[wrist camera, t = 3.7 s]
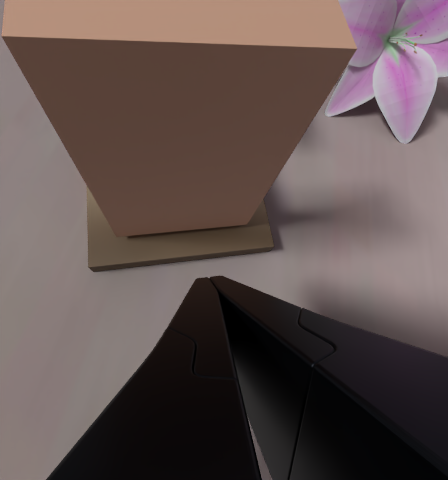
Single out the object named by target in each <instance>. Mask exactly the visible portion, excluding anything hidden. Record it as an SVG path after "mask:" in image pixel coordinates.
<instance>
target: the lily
mask: <svg viewBox="0 0 448 480" xmlns="http://www.w3.org/2000/svg"><path fill="white" fill-rule="evenodd" d="M338 1H339V4H340V6H341V9H342V11H343V14H344V16H345V19H346V21H347V24H348V26H349V29H350V31H351V34H352V36H353V39H354V41H355V44H356V46H357V50H356V52H355V53H354V55H353V57H352V58H351V60H350V61H349V63H348V64H349V66H348V67H347V69H346V71H345V72H344V74H343V76H342V78H341V79H340V81H339V83H338V85H337V87H336V89H335V91H334V93H333V95H332V97H331V99H330V101H329V103H328V105H327V108H326V110H325V115H326V116H329V117H330V116H334V115H337V114H340V113H343V112H345V111H348V110H350V109H352V108H355V107H357V106H359V105H361V104H363V103H365V102H367V101H368V100H370V99H372V98H373V97H375V98H376V101H377V103H378V105H379V108H380V110H381V112H382V113H383V115H384V117H385V119H386V121H387V123H388V125H389V126H390V128H391V130H392V132H393V133H394V135H395V137H396V138H397V139H398V140H399V142H400V143H406V144H407V143H408V142H410V141H411V140H412V138H413V137H414V135H415V134H416V132H417V131H418V129H419V127H420V125H421V123H422V121H423V119H424V117H425V115H426V113H427V111H428V108H429V106H430V104H431V101H432V99H433V96H434V93H435V91H436V85H437V79H438V77H446V76H448V0H338Z"/></svg>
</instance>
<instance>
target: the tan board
mask: <svg viewBox="0 0 448 480" xmlns="http://www.w3.org/2000/svg"><path fill="white" fill-rule="evenodd" d="M87 223H88V267H89V268H90V269H91V270H92V271H93V272H96V271H104V270H113V269H122V268H130V267H139V266H147V265H156V264H165V263H173V262H182V261H190V260H199V259H208V258H216V257H225V256H233V255H242V254H251V253H259V252H268V251H270V250H271V249H272V248H273V247H274V243H273V239H272V234H271V230H270V225H269V221H268V216H267V212H266V207H265V203H264V198H263V200H262V202H261V203H260V205H259V206H258V208H257V210H256V211H255V213H254V214H253V216H252V218H251V219H250V221H249V222H248V224H247V225H238V226H227V227H217V228H206V229H196V230H185V231H175V232H164V233H154V234H143V235H133V236H122V237H116V235H115V234H114V232H113V230H112V228H111V227H110V225H109V223H108V221H107V220H106V218H105V216H104V214H103V213H102V211H101V209H100V207H99V206H98V204H97V202H96V200H95V199H94V197H93V195H92V193H91V192H90V190H89V188H88V186H87Z"/></svg>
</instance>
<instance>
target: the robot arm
mask: <svg viewBox="0 0 448 480" xmlns="http://www.w3.org/2000/svg"><path fill="white" fill-rule="evenodd" d="M247 416H248V418H247ZM248 419H249V421H250V424H251V426H252V429H253V431H254V434H255V436H256V439H257V441H258V444H259V446H260V449H261V452H262V454H263V457H264V459H265V462H266V464H267V467H268V469H269V472H270V474H271V477H272V479H273V480H448V357H445V356H442V355H439V354H436V353H433V352H430V351H427V350H424V349H421V348H418V347H415V346H412V345H409V344H406V343H402V342H399V341H396V340H393V339H390V338H387V337H384V336H381V335H378V334H375V333H372V332H369V331H366V330H363V329H360V328H356V327H353V326H350V325H348V324H345V323H342V322H339V321H336V320H333V319H330V318H327V317H325V316H322V315H320V314H317V313H314V312H312V311H309V310H307V309H304V308H302V309H301V308H300V307H298V306H296V305H293V304H291V303H288V302H286V301H283V300H281V299H278V298H276V297H273V296H271V295H268V294H266V293H263V292H261V291H258V290H256V289H253V288H251V287H248V286H246V285H243V284H241V283H239V282H236V281H234V280H231V279H229V278H226V277H224V276H214V277H210V278H208V277H205V278H197V279H196V280H195V281H194V283H193V285H192V286H191V288H190V290H189V292H188V293H187V295H186V297H185V298H184V300H183V302H182V303H181V305H180V307H179V309H178V310H177V312H176V314H175V315H174V317H173V319H172V320H171V322H170V324H169V326H168V327H167V329H166V330H165V332H164V333H163V335H162V337H161V338H160V340H159V341H158V343H157V344H156V346H155V347H154V349H153V350H152V352H151V353H150V354H149V355H148V357H147V358H146V359H145V361H144V362H143V363H142V364H141V366H140V367H139V368H138V369H137V371H136V372H135V373H134V374H133V375H132V377H131V378H130V379H129V380H128V381H127V383H126V384H125V385H124V386H123V387H122V389H121V390H120V391H119V392H118V393H117V395H116V396H115V397H114V398H113V399H112V401H111V402H110V403H109V404H108V405H107V407H106V408H105V409H104V410H103V412H102V413H101V414H100V415H99V416H98V418H97V419H96V420H95V421H94V422H93V424H92V425H91V426H90V427H89V428H88V430H87V431H86V432H85V433H84V434H83V436H82V437H81V438H80V439H79V440H78V442H77V443H76V444H75V445H74V447H73V448H72V449H71V450H70V451H69V453H68V454H67V455H66V456H65V457H64V459H63V460H62V461H61V462H60V463H59V465H58V466H57V467H56V468H55V469H54V471H53V472H52V473H51V474H50V475H49V477H48V478H47V479H46V480H262V478H261V474H260V469H259V465H258V461H257V456H256V452H255V448H254V443H253V439H252V435H251V430H250V426H249V422H248Z"/></svg>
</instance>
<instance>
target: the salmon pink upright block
mask: <svg viewBox="0 0 448 480" xmlns="http://www.w3.org/2000/svg"><path fill="white" fill-rule="evenodd" d="M2 38H3V39H4V41H5V43H6V45H7V46H8V48H9V50H10V52H11V53H12V55H13V57H14V59H15V60H16V62H17V64H18V66H19V67H20V69H21V71H22V73H23V74H24V76H25V78H26V80H27V81H28V83H29V85H30V87H31V88H32V90H33V92H34V94H35V95H36V97H37V99H38V101H39V102H40V104H41V106H42V108H43V109H44V111H45V113H46V115H47V116H48V118H49V120H50V122H51V123H52V125H53V127H54V129H55V130H56V132H57V134H58V136H59V137H60V139H61V141H62V143H63V144H64V146H65V148H66V150H67V151H68V153H69V155H70V157H71V158H72V160H73V162H74V164H75V165H76V167H77V169H78V171H79V172H80V174H81V176H82V178H83V179H84V181H85V183H86V185H87V186H88V188H89V190H90V192H91V193H92V195H93V197H94V199H95V200H96V202H97V204H98V206H99V207H100V209H101V211H102V213H103V214H104V216H105V218H106V220H107V221H108V223H109V225H110V227H111V228H112V230H113V232H114V234H115V235H116V237H122V236H133V235H143V234H154V233H164V232H175V231H185V230H196V229H206V228H217V227H227V226H238V225H247V224H248V222H249V221H250V219H251V218H252V216H253V214H254V213H255V211H256V210H257V208H258V206H259V205H260V203H261V202H262V200H263V198H264V197H265V195H266V194H267V192H268V191H269V189H270V187H271V186H272V184H273V183H274V181H275V179H276V178H277V176H278V175H279V173H280V171H281V170H282V168H283V167H284V165H285V163H286V162H287V160H288V159H289V157H290V155H291V154H292V152H293V151H294V149H295V147H296V146H297V144H298V143H299V141H300V139H301V138H302V136H303V135H304V133H305V132H306V130H307V128H308V127H309V125H310V124H311V122H312V120H313V119H314V117H315V116H316V114H317V112H318V111H319V109H320V108H321V106H322V104H323V103H324V101H325V100H326V98H327V96H328V95H329V93H330V92H331V90H332V88H333V87H334V85H335V84H336V82H337V80H338V79H339V77H340V76H341V74H342V73H343V71H344V69H345V68H346V66H347V65H348V63H349V61H350V60H351V58H352V57H353V55H354V53H355V52H356V50H357V46H356V44H355V41H354V39H353V36H352V34H351V31H350V29H349V26H348V24H347V21H346V19H345V16H344V14H343V11H342V9H341V6H340V4H339V1H338V0H5V6H4V16H3V26H2Z"/></svg>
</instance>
